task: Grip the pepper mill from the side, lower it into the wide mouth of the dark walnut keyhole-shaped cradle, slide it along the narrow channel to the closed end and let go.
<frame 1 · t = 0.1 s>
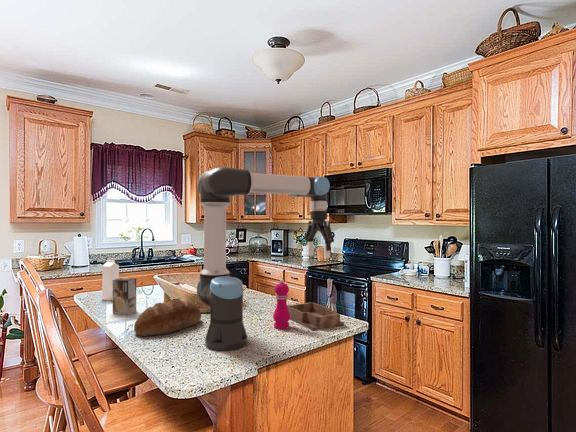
hand: (318, 256, 169), 28 cm above the worktop, tool pointing down, fingers open, 13 cm apart
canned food: (171, 305, 192), on the worktop
keyhole cradle: (313, 320, 163), on the worktop
bread: (169, 328, 153), on the worktop
pepper mill: (281, 327, 153), on the worktop
coffee box: (124, 312, 176), on the worktop
milk: (110, 299, 205), on the worktop
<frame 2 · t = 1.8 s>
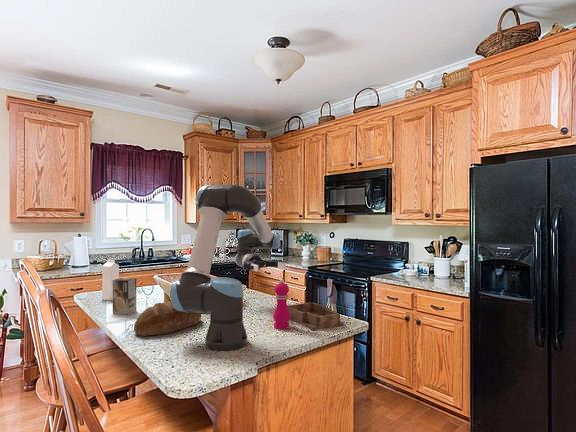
hand: (271, 267, 162), 24 cm above the worktop, tool horizontal, fingers open, 13 cm apart
nothing on the worktop moved.
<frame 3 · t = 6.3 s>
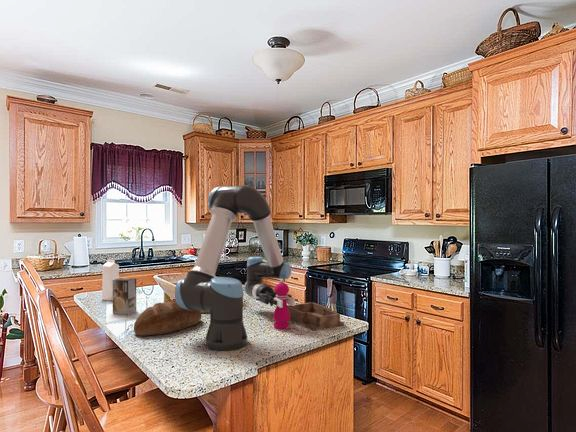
hand: (287, 303, 149), 11 cm above the worktop, tool horizontal, fingers closed on pepper mill, 5 cm apart
pepper mill: (281, 327, 153), on the worktop, touching gripper
everything else where it was.
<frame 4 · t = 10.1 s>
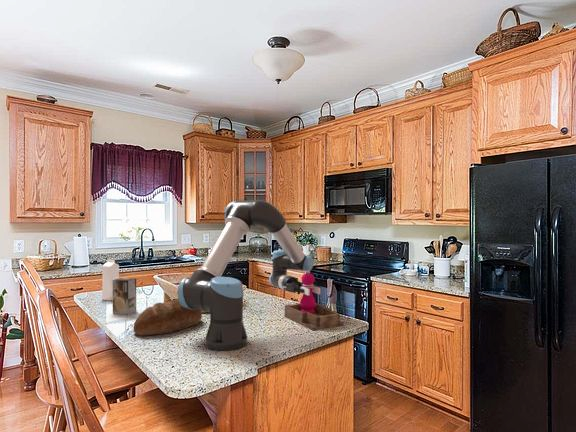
hand: (314, 291, 163), 13 cm above the worktop, tool horizontal, fingers closed on pepper mill, 5 cm apart
pepper mill: (307, 314, 167), point 2 cm above the worktop, touching gripper
everything else where it was.
when the fingers open (12 cm above the worktop, at t = 13.8 s): pepper mill stays where it is, resting on keyhole cradle.
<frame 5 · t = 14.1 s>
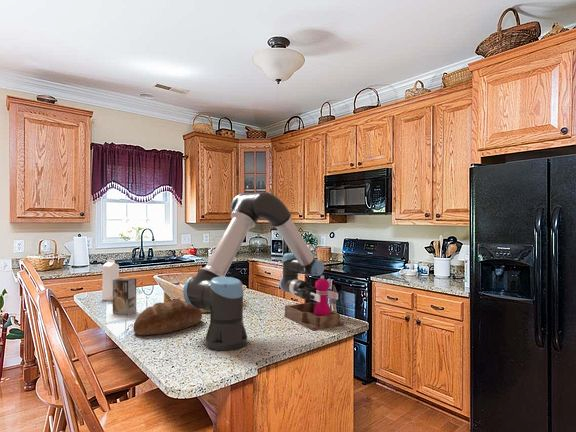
hand: (328, 297, 153), 12 cm above the worktop, tool horizontal, fingers open, 8 cm apart
pepper mill: (322, 322, 157), point 1 cm above the worktop, touching keyhole cradle
everything else where it was.
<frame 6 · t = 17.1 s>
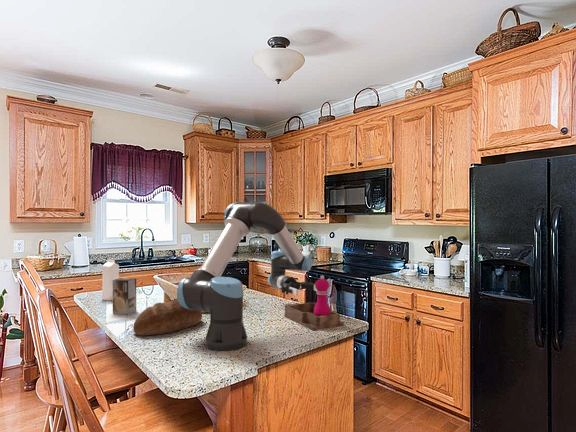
hand: (309, 291, 166), 13 cm above the worktop, tool horizontal, fingers open, 13 cm apart
nothing on the worktop moved.
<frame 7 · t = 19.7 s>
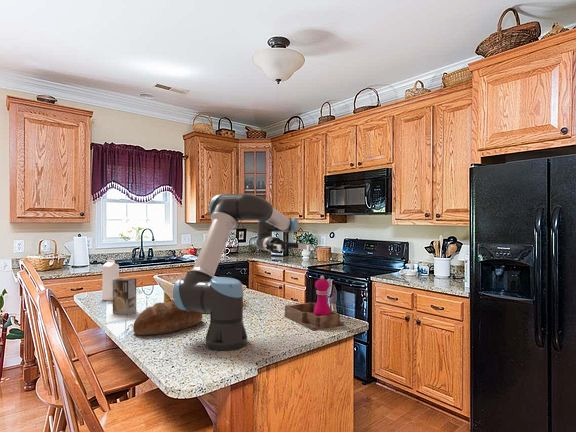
hand: (293, 247, 171), 32 cm above the worktop, tool horizontal, fingers open, 13 cm apart
nothing on the worktop moved.
at the end: pepper mill 0.0 cm from the target spot on the keyhole cradle, point 0.9 cm above the keyhole cradle's base; pepper mill tilted 0°; the gripper is holding nothing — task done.
